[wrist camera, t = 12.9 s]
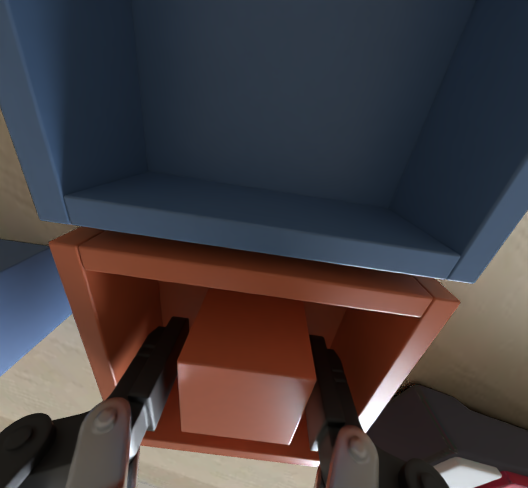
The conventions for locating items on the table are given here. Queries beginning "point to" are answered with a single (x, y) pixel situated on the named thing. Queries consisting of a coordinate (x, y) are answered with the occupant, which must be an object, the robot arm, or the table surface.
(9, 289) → the blue block
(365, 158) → the blue bin
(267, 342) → the terracotta block
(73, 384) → the table surface
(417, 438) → the calculator
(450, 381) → the table surface
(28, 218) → the table surface
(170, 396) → the terracotta bin
